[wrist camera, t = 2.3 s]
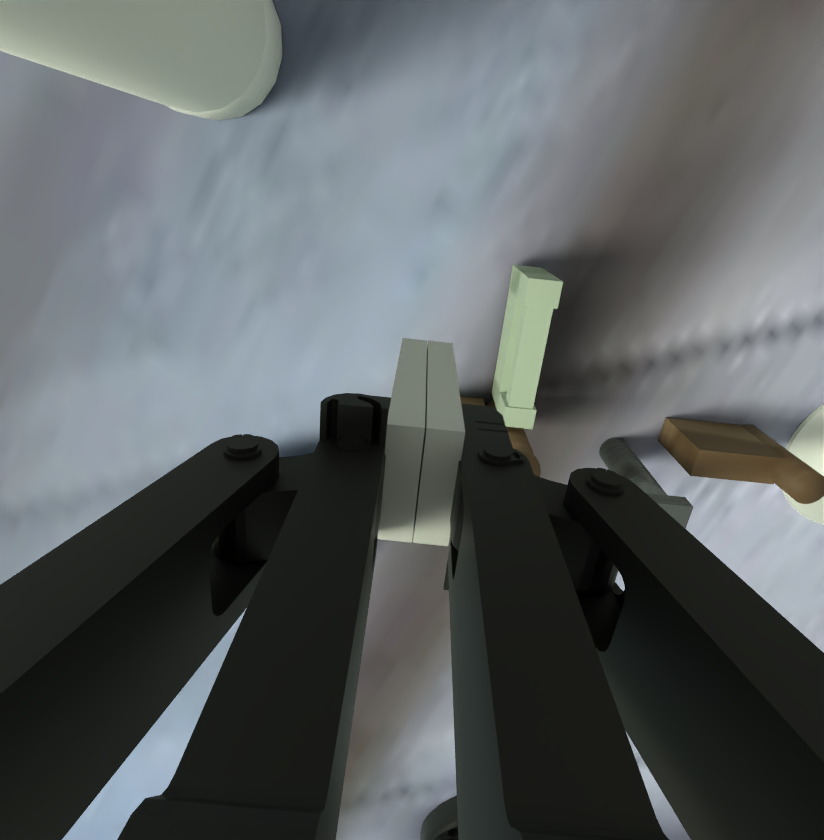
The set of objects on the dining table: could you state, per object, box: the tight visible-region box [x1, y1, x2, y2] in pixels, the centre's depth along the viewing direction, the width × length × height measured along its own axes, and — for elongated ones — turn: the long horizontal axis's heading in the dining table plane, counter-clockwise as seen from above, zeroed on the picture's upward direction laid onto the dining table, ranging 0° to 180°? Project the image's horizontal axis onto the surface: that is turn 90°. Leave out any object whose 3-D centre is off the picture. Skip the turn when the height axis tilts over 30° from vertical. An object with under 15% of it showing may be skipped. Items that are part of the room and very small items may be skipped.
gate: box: [492, 265, 563, 429], centre depth 31 cm, size 8×2×6 cm, turn 174°
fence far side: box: [658, 418, 824, 504], centre depth 34 cm, size 2×7×7 cm, turn 84°
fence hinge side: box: [460, 396, 540, 477], centre depth 32 cm, size 2×6×10 cm, turn 85°
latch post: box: [599, 438, 693, 528], centre depth 33 cm, size 2×2×9 cm
